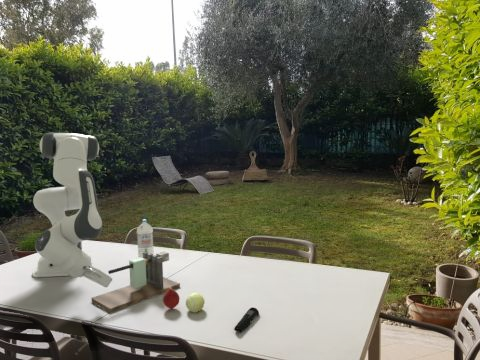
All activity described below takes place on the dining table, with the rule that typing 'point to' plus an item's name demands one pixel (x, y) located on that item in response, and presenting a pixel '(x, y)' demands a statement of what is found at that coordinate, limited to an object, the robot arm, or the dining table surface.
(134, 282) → the sleeve
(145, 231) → the water bottle
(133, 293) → the cord rig
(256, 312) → the electric trimmer
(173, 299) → the onion
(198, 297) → the tennis ball
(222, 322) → the dining table surface
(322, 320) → the dining table surface
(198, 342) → the dining table surface
